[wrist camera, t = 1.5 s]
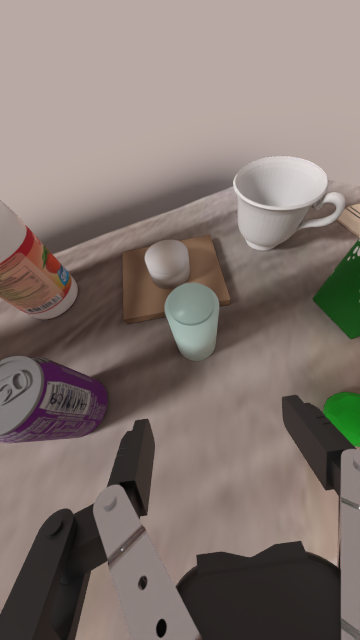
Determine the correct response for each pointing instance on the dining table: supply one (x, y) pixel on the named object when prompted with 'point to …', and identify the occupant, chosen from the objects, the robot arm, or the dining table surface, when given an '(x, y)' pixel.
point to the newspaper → (351, 219)
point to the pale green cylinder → (193, 319)
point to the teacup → (281, 199)
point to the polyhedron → (345, 415)
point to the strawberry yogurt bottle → (31, 271)
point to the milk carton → (343, 294)
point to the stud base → (155, 297)
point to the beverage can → (47, 401)
